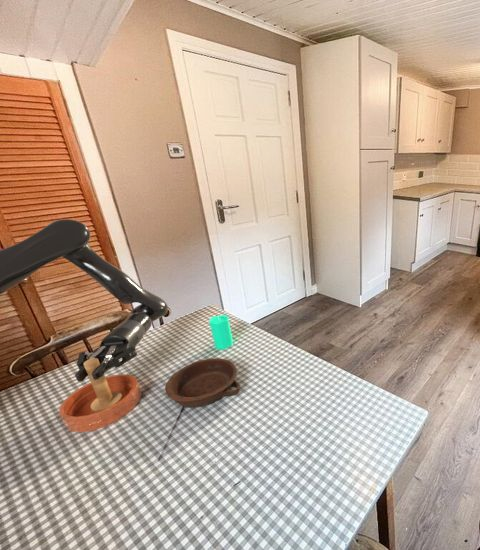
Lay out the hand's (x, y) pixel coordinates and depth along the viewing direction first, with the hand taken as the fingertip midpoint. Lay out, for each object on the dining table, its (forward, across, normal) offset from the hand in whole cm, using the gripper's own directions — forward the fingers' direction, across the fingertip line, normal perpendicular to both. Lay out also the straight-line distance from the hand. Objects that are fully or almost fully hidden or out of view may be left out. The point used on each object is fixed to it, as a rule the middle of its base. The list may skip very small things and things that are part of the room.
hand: (86, 377), depth 73 cm
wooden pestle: (-3, 0, +12) cm, 12 cm away
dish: (-5, +23, +13) cm, 27 cm away
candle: (-28, +23, +13) cm, 38 cm away
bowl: (-3, -1, +13) cm, 13 cm away
